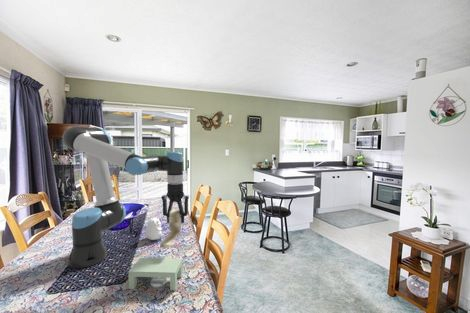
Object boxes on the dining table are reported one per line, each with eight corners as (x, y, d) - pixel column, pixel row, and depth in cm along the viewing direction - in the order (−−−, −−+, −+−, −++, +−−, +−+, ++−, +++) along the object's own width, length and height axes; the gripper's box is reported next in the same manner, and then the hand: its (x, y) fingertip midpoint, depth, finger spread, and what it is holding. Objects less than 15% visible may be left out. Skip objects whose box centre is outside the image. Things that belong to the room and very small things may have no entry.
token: (148, 288, 85) (148, 284, 85) (154, 279, 91) (154, 275, 91) (163, 289, 85) (163, 285, 84) (168, 279, 91) (168, 275, 90)
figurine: (145, 243, 121) (145, 222, 121) (144, 237, 130) (143, 217, 129) (164, 240, 126) (163, 219, 125) (161, 234, 135) (161, 214, 134)
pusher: (159, 247, 94) (159, 222, 93) (172, 230, 112) (172, 209, 111) (170, 247, 94) (169, 222, 93) (181, 230, 112) (181, 209, 111)
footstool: (128, 288, 84) (128, 271, 83) (140, 273, 94) (140, 257, 93) (175, 290, 83) (175, 272, 83) (182, 274, 93) (182, 258, 93)
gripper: (154, 184, 105) (155, 231, 106) (191, 184, 104) (191, 232, 105) (160, 181, 112) (161, 226, 113) (194, 181, 112) (194, 226, 113)
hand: (175, 229), depth 109 cm, fingers closed on pusher, 4 cm apart
